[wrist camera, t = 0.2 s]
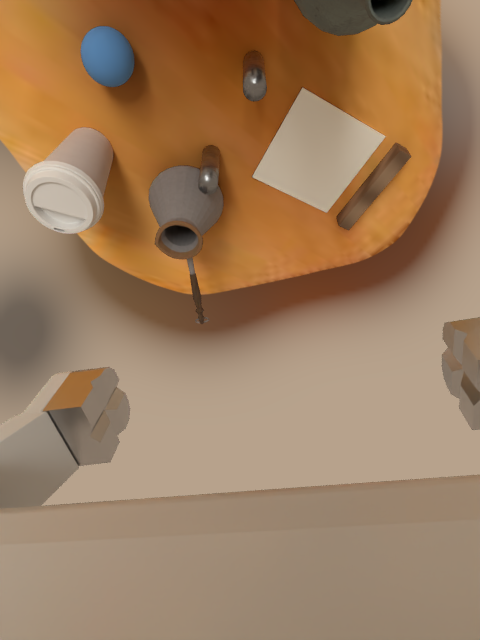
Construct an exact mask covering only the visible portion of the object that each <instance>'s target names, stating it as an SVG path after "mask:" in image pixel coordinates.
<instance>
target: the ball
mask: <svg viewBox="0 0 480 640" xmlns="http://www.w3.org/2000/svg"><path fill="white" fill-rule="evenodd" d="M81 58H82V62H83V65H84V67H85V69H86V71H87V72H88V74H89V75H90V76H91V77H92V78H93V79H94V80H95V81H96V82H98V83H100V84H101V85H104V86H108V87H117V86H120V85H122V84H124V83H125V82H127V81H128V79H129V78H130V77H131V75H132V72H133V69H134V54H133V50H132V48H131V45H130V44H129V42H128V40H127V39H126V38H125V37H124V36H123V35H122V34H121V33H120V32H119V31H117V30H116V29H114V28H111V27H107V26H99V27H95V28H93V29H91V30H90V31H89V32H88V33H87V34H86V35H85V37H84V39H83V41H82V45H81Z"/></svg>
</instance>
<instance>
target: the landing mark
mask: <svg viewBox="0 0 480 640" xmlns="http://www.w3.org/2000/svg"><path fill="white" fill-rule="evenodd" d="M384 138H385V136H384V135H383V134H381V133H379V132H378V131H376V130H374V129H372V128H371V127H369V126H367V125H366V124H364V123H362V122H361V121H359V120H357V119H356V118H354V117H352V116H350V115H349V114H347V113H345V112H344V111H342V110H340V109H339V108H337V107H335V106H334V105H332V104H330V103H328V102H327V101H325V100H323V99H322V98H320V97H318V96H317V95H315V94H313V93H312V92H310V91H308V90H306V89H305V88H303V87H302V89H301V90H300V92H299V94H298V96H297V98H296V99H295V101H294V103H293V105H292V106H291V108H290V110H289V112H288V114H287V115H286V117H285V119H284V121H283V122H282V124H281V126H280V128H279V130H278V131H277V133H276V135H275V137H274V138H273V140H272V142H271V144H270V145H269V147H268V149H267V151H266V153H265V154H264V156H263V158H262V160H261V161H260V163H259V165H258V167H257V169H256V170H255V172H254V174H253V176H252V177H253V178H255V179H257V180H259V181H261V182H263V183H265V184H267V185H269V186H272V187H274V188H276V189H278V190H280V191H282V192H284V193H286V194H288V195H290V196H292V197H295V198H297V199H299V200H301V201H303V202H305V203H307V204H309V205H311V206H313V207H315V208H318V209H320V210H322V211H324V212H326V213H327V212H328V211H329V209H330V208H331V207H332V206H333V204H334V203H335V202H336V200H337V199H338V198H339V197H340V195H341V194H342V193H343V191H344V190H345V189H346V187H347V186H348V185H349V184H350V182H351V181H352V180H353V178H354V177H355V176H356V174H357V173H358V172H359V171H360V169H361V168H362V167H363V165H364V164H365V163H366V161H367V160H368V159H369V158H370V156H371V155H372V154H373V152H374V151H375V150H376V148H377V147H378V146H379V145H380V143H381V142H382V141H383V139H384Z"/></svg>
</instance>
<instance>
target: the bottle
mask: <svg viewBox="0 0 480 640" xmlns="http://www.w3.org/2000/svg"><path fill="white" fill-rule="evenodd" d="M294 1H295V2H296V4H297V6H298V8H299V9H300V11H301V13H302V14H303V16H304V17H305V18H307V19H308V20H309V21H310V22H312V23H313V24H314V25H315V26H316V27H318V28H319V29H320V30H322V31H324V32H328V33H331V34H334V35H337V36H341V35H352V34H358V33H360V32H362V31H364V30H367V29H369V28H371V27H373V26H375V25H376V24H377V23H378V24H381V25H385V24H390V23H393V22H395V21H397V20H398V19H399V18H400V17H401V16H403V15H404V14H405V12H406V11H407V9H408V8H409V7H410V5H411V2H412V0H294Z"/></svg>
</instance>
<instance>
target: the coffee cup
mask: <svg viewBox="0 0 480 640" xmlns="http://www.w3.org/2000/svg"><path fill="white" fill-rule="evenodd" d="M112 161H113V149H112V146H111V144H110V142H109V141H108V139H107V138H106V137H105V136H104V135H103V134H101V133H100V132H98V131H97V130H94V129H92V128H87V127H82V128H78V129H75V130H74V131H73V132H72V133H71V134H70V135H69V136H68V137H67V138H66V139H65V140H64V141H63V142H62V143H61V144H60V145H59V146H58V147H57V148H56V149H55V150H54V151H53V152H52V153H51V154H50V155H49V156H48V157H47V158H46V159H45V160H44V161H43V162H40V163H37V164H35V165H33V166H32V167H31V168H30V169H29V170H28V171H27V173H26V175H25V177H24V182H23V192H24V197H25V202H26V205H27V207H28V209H29V211H30V212H31V214H32V215H33V216H34V217H35V218H36V219H37V220H38V221H39V222H40V223H41V224H43V225H44V226H46V227H48V228H50V229H52V230H54V231H57V232H61V233H67V234H73V233H78V232H81V231H84V230H87V229H89V228H91V227H92V226H94V225H95V224H96V223H97V222H98V221H99V220H100V218H101V217H102V215H103V211H104V201H103V196H104V192H105V188H106V184H107V180H108V177H109V173H110V169H111V165H112Z"/></svg>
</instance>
